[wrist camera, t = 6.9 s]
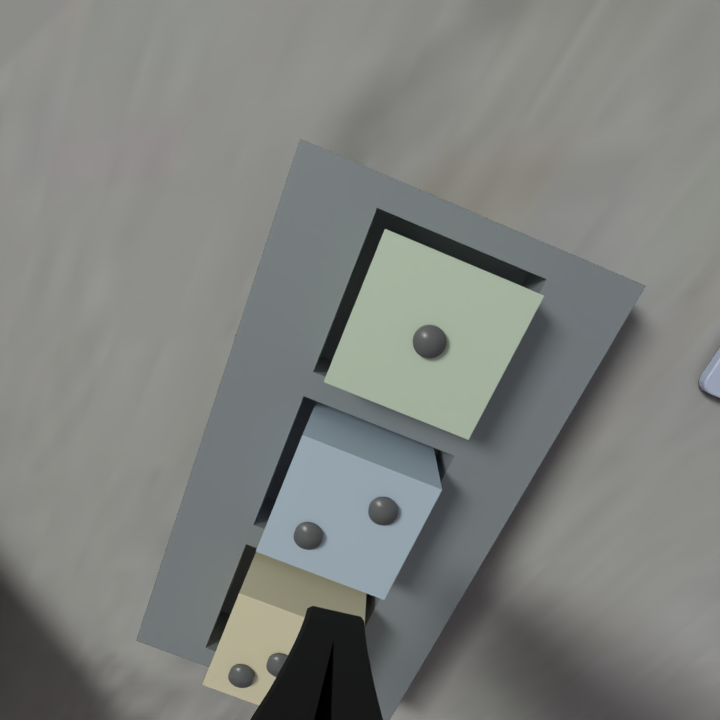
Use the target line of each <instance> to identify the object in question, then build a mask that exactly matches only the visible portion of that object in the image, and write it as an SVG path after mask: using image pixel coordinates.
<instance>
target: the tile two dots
mask: <svg viewBox="0 0 720 720" xmlns="http://www.w3.org/2000/svg"><path fill="white" fill-rule="evenodd" d="M441 491H442V487H441V482H440V477H439V472H438V467H437V462H436V457H435V452H434V448H433V447H431V446H428V445H426V444H423V443H421V442H418V441H416V440H413V439H411V438H408V437H406V436H403V435H401V434H398V433H396V432H393V431H391V430H388V429H385V428H383V427H380V426H378V425H375V424H373V423H370V422H368V421H365V420H363V419H360V418H358V417H355V416H353V415H350V414H348V413H345V412H343V411H340V410H338V409H335V408H333V407H330V406H327V405H325V404H322V403H320V402H316V404H315V406H314V409H313V411H312V413H311V416H310V418H309V420H308V423H307V425H306V428H305V430H304V432H303V435H302V437H301V440H300V442H299V445H298V447H297V450H296V452H295V455H294V457H293V460H292V462H291V465H290V467H289V470H288V472H287V475H286V477H285V480H284V482H283V485H282V487H281V490H280V492H279V495H278V497H277V500H276V502H275V505H274V507H273V510H272V512H271V515H270V517H269V520H268V522H267V525H266V527H265V530H264V532H263V535H262V537H261V540H260V542H259V545H258V547H257V550H256V552H258V553H261V554H263V555H266V556H269V557H271V558H274V559H277V560H279V561H282V562H285V563H287V564H290V565H293V566H295V567H298V568H301V569H303V570H306V571H308V572H311V573H314V574H316V575H319V576H322V577H324V578H327V579H330V580H332V581H335V582H338V583H340V584H343V585H346V586H348V587H351V588H354V589H356V590H359V591H362V592H364V593H367V594H370V595H372V596H375V597H377V598H380V599H383V600H384V599H385V598H386V596H387V594H388V592H389V590H390V588H391V586H392V584H393V582H394V580H395V579H396V577H397V575H398V573H399V571H400V569H401V567H402V565H403V563H404V561H405V560H406V558H407V556H408V554H409V552H410V550H411V548H412V546H413V544H414V542H415V540H416V539H417V537H418V535H419V533H420V531H421V529H422V527H423V525H424V523H425V521H426V520H427V518H428V516H429V514H430V512H431V510H432V508H433V506H434V504H435V502H436V501H437V499H438V497H439V495H440V493H441Z"/></svg>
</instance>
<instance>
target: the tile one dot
mask: <svg viewBox="0 0 720 720" xmlns="http://www.w3.org/2000/svg"><path fill="white" fill-rule="evenodd" d="M543 297H544V295H541V294H539V293H537V292H534V291H532V290H530V289H528V288H525V287H523V286H521V285H518V284H516V283H514V282H511V281H509V280H507V279H504V278H502V277H499V276H497V275H495V274H492V273H490V272H488V271H485V270H483V269H480V268H478V267H476V266H473V265H471V264H468V263H466V262H464V261H461V260H459V259H457V258H454V257H452V256H449V255H447V254H445V253H442V252H440V251H437V250H435V249H433V248H430V247H428V246H426V245H423V244H421V243H418V242H416V241H414V240H411V239H409V238H406V237H404V236H402V235H399V234H397V233H395V232H392V231H390V230H387V229H385V230H384V232H383V235H382V237H381V240H380V242H379V245H378V247H377V250H376V252H375V255H374V257H373V260H372V262H371V265H370V267H369V270H368V272H367V275H366V277H365V280H364V282H363V285H362V287H361V290H360V292H359V295H358V297H357V300H356V302H355V305H354V307H353V310H352V312H351V315H350V317H349V320H348V322H347V325H346V327H345V330H344V332H343V335H342V337H341V340H340V342H339V345H338V347H337V350H336V352H335V355H334V357H333V360H332V362H331V365H330V367H329V370H328V372H327V375H326V377H325V380H324V382H325V383H327V384H330V385H332V386H335V387H337V388H340V389H342V390H345V391H347V392H350V393H352V394H355V395H357V396H360V397H362V398H365V399H367V400H370V401H372V402H375V403H377V404H380V405H382V406H385V407H387V408H390V409H392V410H395V411H397V412H400V413H402V414H405V415H408V416H410V417H413V418H415V419H418V420H420V421H423V422H425V423H428V424H430V425H433V426H435V427H438V428H440V429H443V430H445V431H448V432H450V433H453V434H455V435H458V436H460V437H463V438H465V439H468V440H469V438H470V436H471V434H472V432H473V430H474V428H475V427H476V425H477V423H478V421H479V419H480V417H481V415H482V413H483V411H484V409H485V408H486V406H487V404H488V402H489V400H490V398H491V396H492V394H493V392H494V390H495V389H496V387H497V385H498V383H499V381H500V379H501V377H502V375H503V373H504V371H505V370H506V368H507V366H508V364H509V362H510V360H511V358H512V356H513V354H514V352H515V350H516V349H517V347H518V345H519V343H520V341H521V339H522V337H523V335H524V333H525V331H526V330H527V328H528V326H529V324H530V322H531V320H532V318H533V316H534V314H535V312H536V311H537V309H538V307H539V305H540V303H541V301H542V299H543Z"/></svg>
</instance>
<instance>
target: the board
mask: <svg viewBox="0 0 720 720" xmlns="http://www.w3.org/2000/svg"><path fill="white" fill-rule="evenodd" d="M385 229H387V230H390V231H392V232H395V233H397V234H399V235H402V236H404V237H406V238H409V239H411V240H414V241H416V242H418V243H421V244H423V245H426V246H428V247H430V248H433V249H435V250H437V251H440V252H442V253H445V254H447V255H449V256H452V257H454V258H457V259H459V260H461V261H464V262H466V263H468V264H471V265H473V266H476V267H478V268H480V269H483V270H485V271H488V272H490V273H492V274H495V275H497V276H499V277H502V278H504V279H507V280H509V281H511V282H514V283H516V284H518V285H521V286H523V287H525V288H528V289H530V290H532V291H534V292H537V293H539V294H541V295H544V297H543V299H542V301H541V303H540V305H539V307H538V309H537V311H536V312H535V314H534V316H533V318H532V320H531V322H530V324H529V326H528V328H527V330H526V331H525V333H524V335H523V337H522V339H521V341H520V343H519V345H518V347H517V349H516V350H515V352H514V354H513V356H512V358H511V360H510V362H509V364H508V366H507V368H506V370H505V371H504V373H503V375H502V377H501V379H500V381H499V383H498V385H497V387H496V389H495V390H494V392H493V394H492V396H491V398H490V400H489V402H488V404H487V406H486V408H485V409H484V411H483V413H482V415H481V417H480V419H479V421H478V423H477V425H476V427H475V428H474V430H473V432H472V434H471V436H470V438H469V440H468V439H465V438H463V437H460V436H458V435H455V434H453V433H450V432H448V431H445V430H443V429H440V428H438V427H435V426H433V425H430V424H428V423H425V422H423V421H420V420H418V419H415V418H413V417H410V416H408V415H405V414H402V413H400V412H397V411H395V410H392V409H390V408H387V407H385V406H382V405H380V404H377V403H375V402H372V401H370V400H367V399H365V398H362V397H360V396H357V395H355V394H352V393H350V392H347V391H345V390H342V389H340V388H337V387H335V386H332V385H330V384H327V383H325V382H324V380H325V377H326V375H327V372H328V370H329V367H330V365H331V362H332V360H333V357H334V355H335V352H336V350H337V347H338V345H339V342H340V340H341V337H342V335H343V332H344V330H345V327H346V325H347V322H348V320H349V317H350V315H351V312H352V310H353V307H354V305H355V302H356V300H357V297H358V295H359V292H360V290H361V287H362V285H363V282H364V280H365V277H366V275H367V272H368V270H369V267H370V265H371V262H372V260H373V257H374V255H375V252H376V250H377V247H378V245H379V242H380V240H381V237H382V235H383V232H384V230H385ZM644 288H645V285H643V284H640V283H638V282H636V281H633V280H631V279H629V278H626V277H624V276H622V275H619V274H617V273H615V272H612V271H610V270H608V269H605V268H603V267H600V266H598V265H596V264H593V263H591V262H589V261H586V260H584V259H582V258H579V257H577V256H575V255H572V254H570V253H568V252H565V251H563V250H561V249H558V248H556V247H554V246H551V245H549V244H546V243H544V242H542V241H539V240H537V239H535V238H532V237H530V236H528V235H525V234H523V233H521V232H518V231H516V230H514V229H511V228H509V227H507V226H504V225H502V224H499V223H497V222H495V221H492V220H490V219H488V218H485V217H483V216H481V215H478V214H476V213H474V212H471V211H469V210H467V209H464V208H462V207H460V206H457V205H455V204H453V203H450V202H448V201H445V200H443V199H441V198H438V197H436V196H434V195H431V194H429V193H427V192H424V191H422V190H420V189H417V188H415V187H413V186H410V185H408V184H406V183H403V182H401V181H398V180H396V179H394V178H391V177H389V176H387V175H384V174H382V173H380V172H377V171H375V170H373V169H370V168H368V167H366V166H363V165H361V164H359V163H356V162H354V161H352V160H349V159H347V158H344V157H342V156H340V155H337V154H335V153H333V152H330V151H328V150H326V149H323V148H321V147H319V146H316V145H314V144H312V143H309V142H307V141H305V140H302V139H300V141H299V144H298V147H297V150H296V153H295V156H294V159H293V162H292V165H291V168H290V171H289V174H288V178H287V181H286V184H285V187H284V190H283V193H282V196H281V199H280V202H279V205H278V208H277V211H276V214H275V217H274V220H273V223H272V227H271V230H270V233H269V236H268V239H267V242H266V245H265V248H264V251H263V254H262V257H261V260H260V263H259V266H258V269H257V272H256V275H255V279H254V282H253V285H252V288H251V291H250V294H249V297H248V300H247V303H246V306H245V309H244V312H243V315H242V318H241V321H240V324H239V327H238V331H237V334H236V337H235V340H234V343H233V346H232V349H231V352H230V355H229V358H228V361H227V364H226V367H225V370H224V373H223V376H222V380H221V383H220V386H219V389H218V392H217V395H216V398H215V401H214V404H213V407H212V410H211V413H210V416H209V419H208V422H207V425H206V428H205V432H204V435H203V438H202V441H201V444H200V447H199V450H198V453H197V456H196V459H195V462H194V465H193V468H192V471H191V474H190V477H189V480H188V484H187V487H186V490H185V493H184V496H183V499H182V502H181V505H180V508H179V511H178V514H177V517H176V520H175V523H174V526H173V529H172V533H171V536H170V539H169V542H168V545H167V548H166V551H165V554H164V557H163V560H162V563H161V566H160V569H159V572H158V575H157V578H156V581H155V585H154V588H153V591H152V594H151V597H150V600H149V603H148V606H147V609H146V612H145V615H144V618H143V621H142V624H141V627H140V630H139V633H138V637H137V640H136V641H138V642H141V643H144V644H147V645H149V646H152V647H155V648H158V649H160V650H163V651H166V652H169V653H172V654H174V655H177V656H180V657H183V658H185V659H188V660H191V661H194V662H196V663H199V664H202V665H205V666H207V667H210V664H211V662H212V659H213V657H214V654H215V652H216V649H217V647H218V644H219V642H220V639H221V637H222V634H223V632H224V629H225V627H226V624H227V622H228V619H229V617H230V614H231V612H232V609H233V607H234V604H235V602H236V599H237V597H238V594H239V592H240V590H241V587H242V585H243V582H244V580H245V577H246V575H247V573H248V570H249V568H250V565H251V563H252V561H253V558H254V556H255V553H256V550H257V547H258V545H259V542H260V540H261V537H262V535H263V532H264V530H265V527H266V525H267V522H268V520H269V517H270V515H271V512H272V510H273V507H274V505H275V502H276V500H277V497H278V495H279V492H280V490H281V487H282V485H283V482H284V480H285V477H286V475H287V472H288V470H289V467H290V465H291V462H292V460H293V457H294V455H295V452H296V450H297V447H298V445H299V442H300V440H301V437H302V435H303V432H304V430H305V428H306V425H307V423H308V420H309V418H310V416H311V413H312V411H313V409H314V406H315V404H316V402H320V403H322V404H325V405H327V406H330V407H333V408H335V409H338V410H340V411H343V412H345V413H348V414H350V415H353V416H355V417H358V418H360V419H363V420H365V421H368V422H370V423H373V424H375V425H378V426H380V427H383V428H385V429H388V430H391V431H393V432H396V433H398V434H401V435H403V436H406V437H408V438H411V439H413V440H416V441H418V442H421V443H423V444H426V445H428V446H431V447H433V448H434V452H435V457H436V462H437V467H438V472H439V477H440V482H441V487H442V491H441V493H440V495H439V497H438V499H437V501H436V502H435V504H434V506H433V508H432V510H431V512H430V514H429V516H428V518H427V520H426V521H425V523H424V525H423V527H422V529H421V531H420V533H419V535H418V537H417V539H416V540H415V542H414V544H413V546H412V548H411V550H410V552H409V554H408V556H407V558H406V560H405V561H404V563H403V565H402V567H401V569H400V571H399V573H398V575H397V577H396V579H395V580H394V582H393V584H392V586H391V588H390V590H389V592H388V594H387V596H386V598H385V599H384V600H383V599H380V598H377V597H375V596H372V595H370V594H367V595H366V611H365V635H366V643H367V650H368V656H369V661H370V666H371V671H372V676H373V681H374V685H375V690H376V694H377V698H378V702H379V706H380V710H381V714H382V718H383V720H390V718H391V717H392V715H393V713H394V712H395V710H396V708H397V707H398V705H399V703H400V701H401V700H402V698H403V696H404V695H405V693H406V691H407V690H408V688H409V686H410V684H411V683H412V681H413V679H414V678H415V676H416V674H417V673H418V671H419V669H420V668H421V666H422V664H423V662H424V661H425V659H426V657H427V656H428V654H429V652H430V651H431V649H432V647H433V646H434V644H435V642H436V640H437V639H438V637H439V635H440V634H441V632H442V630H443V629H444V627H445V625H446V623H447V622H448V620H449V618H450V617H451V615H452V613H453V612H454V610H455V608H456V607H457V605H458V603H459V601H460V600H461V598H462V596H463V595H464V593H465V591H466V590H467V588H468V586H469V585H470V583H471V581H472V579H473V578H474V576H475V574H476V573H477V571H478V569H479V568H480V566H481V564H482V562H483V561H484V559H485V557H486V556H487V554H488V552H489V551H490V549H491V547H492V546H493V544H494V542H495V540H496V539H497V537H498V535H499V534H500V532H501V530H502V529H503V527H504V525H505V523H506V522H507V520H508V518H509V517H510V515H511V513H512V512H513V510H514V508H515V507H516V505H517V503H518V501H519V500H520V498H521V496H522V495H523V493H524V491H525V490H526V488H527V486H528V485H529V483H530V481H531V479H532V478H533V476H534V474H535V473H536V471H537V469H538V468H539V466H540V464H541V462H542V461H543V459H544V457H545V456H546V454H547V452H548V451H549V449H550V447H551V446H552V444H553V442H554V440H555V439H556V437H557V435H558V434H559V432H560V430H561V429H562V427H563V425H564V424H565V422H566V420H567V418H568V417H569V415H570V413H571V412H572V410H573V408H574V407H575V405H576V403H577V401H578V400H579V398H580V396H581V395H582V393H583V391H584V390H585V388H586V386H587V385H588V383H589V381H590V379H591V378H592V376H593V374H594V373H595V371H596V369H597V368H598V366H599V364H600V363H601V361H602V359H603V357H604V356H605V354H606V352H607V351H608V349H609V347H610V346H611V344H612V342H613V340H614V339H615V337H616V335H617V334H618V332H619V330H620V329H621V327H622V325H623V324H624V322H625V320H626V318H627V317H628V315H629V313H630V312H631V310H632V308H633V307H634V305H635V303H636V302H637V300H638V298H639V296H640V295H641V293H642V291H643V290H644Z"/></svg>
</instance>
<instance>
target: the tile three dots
mask: <svg viewBox="0 0 720 720" xmlns="http://www.w3.org/2000/svg"><path fill="white" fill-rule="evenodd" d="M366 595H367V593H364V592H362V591H359V590H356V589H354V588H351V587H348V586H346V585H343V584H340V583H338V582H335V581H332V580H330V579H327V578H324V577H322V576H319V575H316V574H314V573H311V572H308V571H306V570H303V569H301V568H298V567H295V566H293V565H290V564H287V563H285V562H282V561H279V560H277V559H274V558H271V557H269V556H266V555H263V554H261V553H258V552H256V553H255V556H254V558H253V561H252V563H251V565H250V568H249V570H248V573H247V575H246V577H245V580H244V582H243V585H242V587H241V590H240V592H239V594H238V597H237V599H236V602H235V604H234V607H233V609H232V612H231V614H230V617H229V619H228V622H227V624H226V627H225V629H224V632H223V634H222V637H221V639H220V642H219V644H218V647H217V649H216V652H215V654H214V657H213V659H212V662H211V664H210V667H209V669H208V672H207V674H206V677H205V679H204V682H203V684H202V685H204V686H207V687H210V688H212V689H215V690H218V691H221V692H223V693H226V694H229V695H232V696H235V697H237V698H240V699H243V700H246V701H248V702H251V703H254V704H257V705H260V704H261V702H262V700H263V699H264V697H265V696H266V694H267V693H268V691H269V689H270V688H271V686H272V684H273V682H274V681H275V679H276V677H277V675H278V673H279V671H280V670H281V668H282V666H283V664H284V662H285V660H286V659H287V657H288V655H289V653H290V651H291V649H292V647H293V645H294V642H295V640H296V638H297V636H298V634H299V631H300V629H301V626H302V624H303V621H304V618H305V615H306V611H307V608H309V607H311V606H316V607H320V608H325V609H329V610H333V611H338V612H342V613H347V614H351V615H356V616H360V617H362V619H363V620H364V625H365V611H366Z"/></svg>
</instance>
